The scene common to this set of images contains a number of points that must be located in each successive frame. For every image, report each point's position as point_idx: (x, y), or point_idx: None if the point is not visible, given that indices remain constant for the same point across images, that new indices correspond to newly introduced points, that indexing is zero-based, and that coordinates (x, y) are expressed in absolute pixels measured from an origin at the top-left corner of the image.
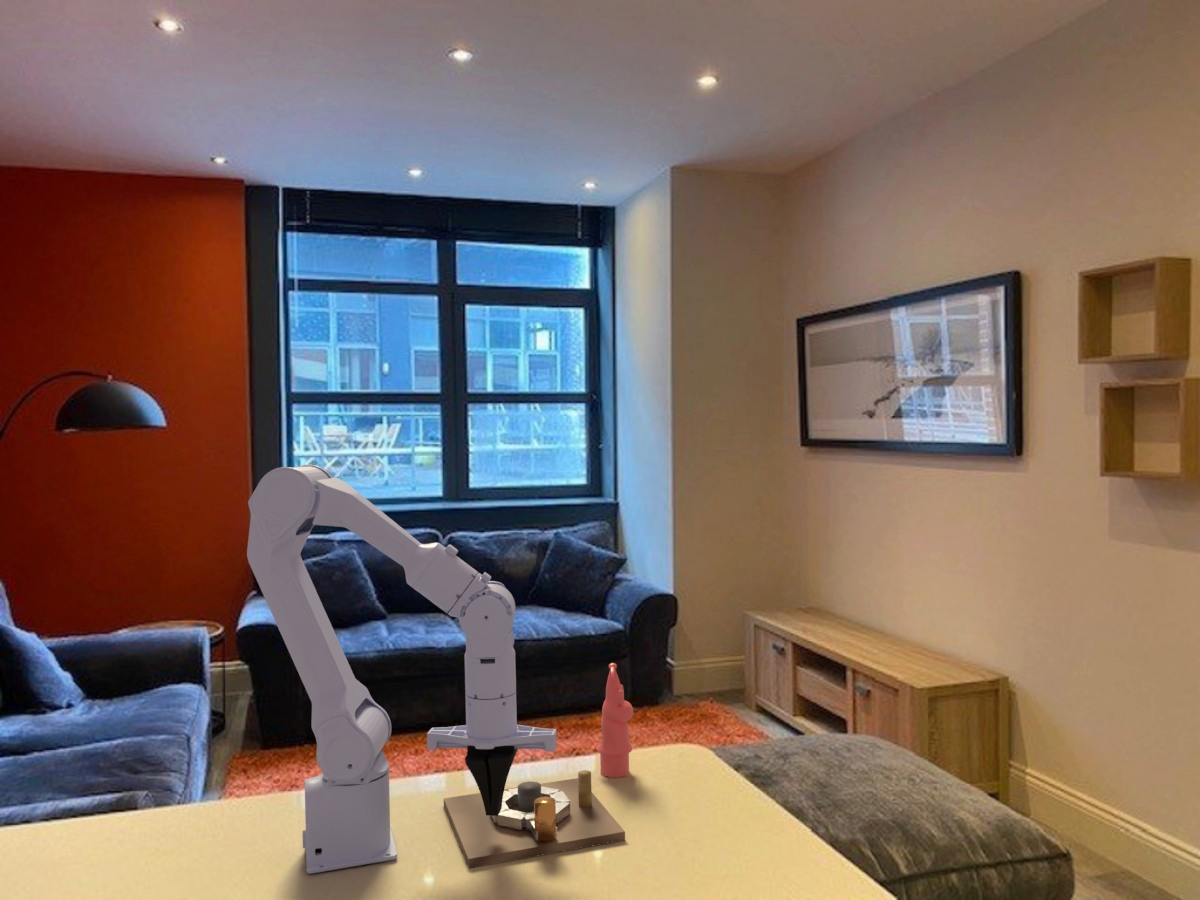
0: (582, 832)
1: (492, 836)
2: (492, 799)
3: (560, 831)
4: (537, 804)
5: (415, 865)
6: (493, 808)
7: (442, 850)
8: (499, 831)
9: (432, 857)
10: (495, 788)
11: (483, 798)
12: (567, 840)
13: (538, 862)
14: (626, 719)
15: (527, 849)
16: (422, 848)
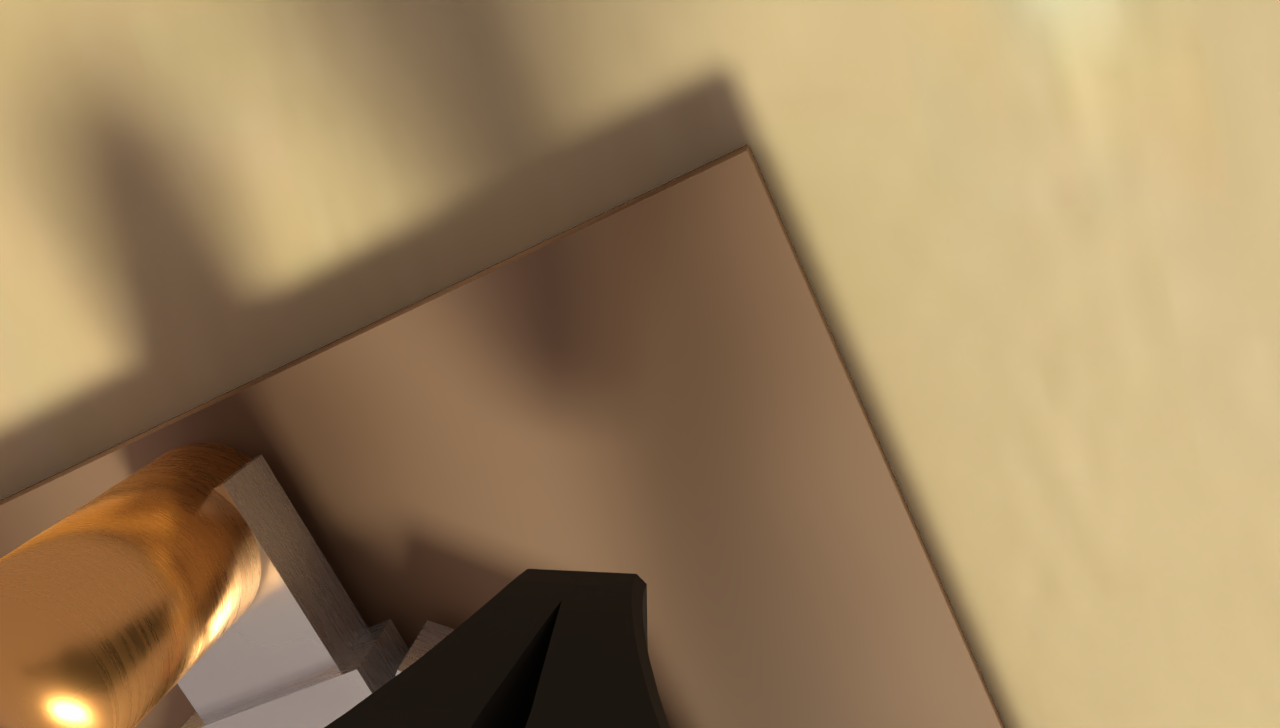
0: None
1: (641, 544)
2: (512, 644)
3: None
4: (45, 621)
5: (1228, 166)
6: (536, 595)
7: (1032, 428)
8: None
9: (1097, 311)
10: (405, 721)
11: (629, 657)
12: (71, 493)
13: (249, 275)
14: None
15: (316, 356)
16: (1213, 455)
